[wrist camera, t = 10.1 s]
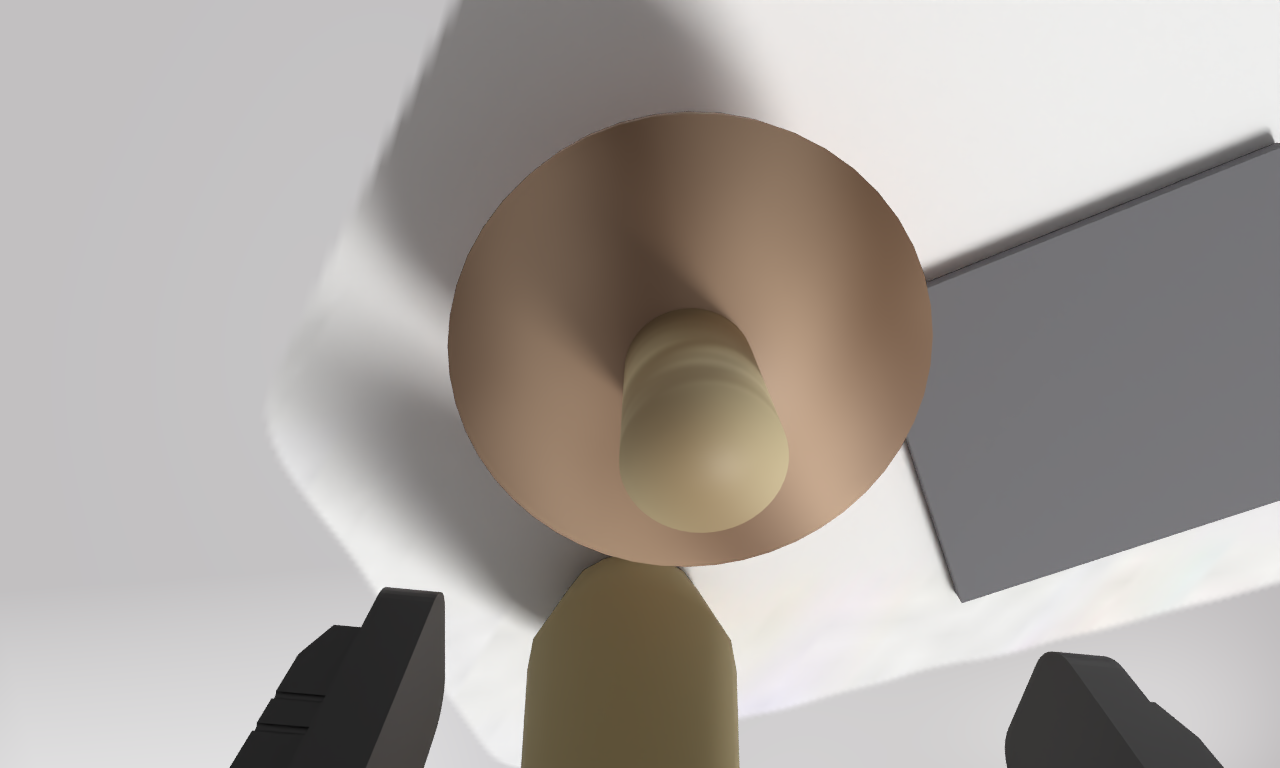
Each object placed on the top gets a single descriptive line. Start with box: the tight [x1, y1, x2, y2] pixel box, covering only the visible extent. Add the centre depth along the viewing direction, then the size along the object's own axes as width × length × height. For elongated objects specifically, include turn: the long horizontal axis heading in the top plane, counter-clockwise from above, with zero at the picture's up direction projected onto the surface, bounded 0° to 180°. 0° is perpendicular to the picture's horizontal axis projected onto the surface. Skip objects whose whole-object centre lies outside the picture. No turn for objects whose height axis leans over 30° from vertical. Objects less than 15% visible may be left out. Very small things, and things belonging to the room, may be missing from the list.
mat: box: [905, 143, 1280, 603], centre depth 27 cm, size 14×14×1 cm
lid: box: [448, 111, 933, 567], centre depth 18 cm, size 13×13×6 cm
